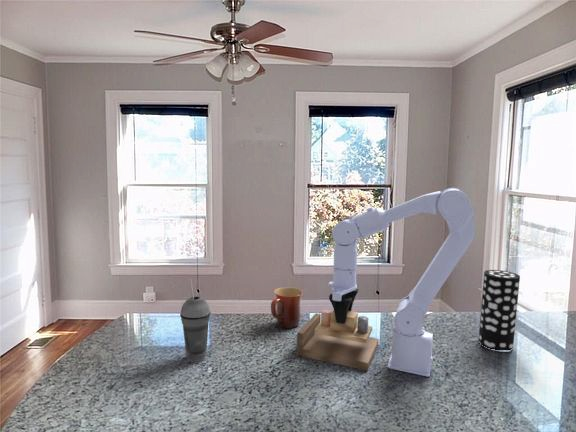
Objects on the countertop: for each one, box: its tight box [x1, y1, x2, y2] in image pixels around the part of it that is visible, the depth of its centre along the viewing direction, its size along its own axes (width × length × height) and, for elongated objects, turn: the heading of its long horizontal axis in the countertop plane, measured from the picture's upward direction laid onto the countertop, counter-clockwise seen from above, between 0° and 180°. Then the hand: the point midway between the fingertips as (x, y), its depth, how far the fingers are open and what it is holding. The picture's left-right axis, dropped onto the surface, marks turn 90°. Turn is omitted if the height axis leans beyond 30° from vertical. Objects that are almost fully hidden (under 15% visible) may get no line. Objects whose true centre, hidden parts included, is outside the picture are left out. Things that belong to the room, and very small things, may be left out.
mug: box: [270, 286, 304, 329], centre depth 114 cm, size 12×9×10 cm
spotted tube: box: [477, 269, 521, 350], centre depth 103 cm, size 8×8×20 cm
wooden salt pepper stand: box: [315, 309, 373, 343], centre depth 97 cm, size 13×8×5 cm, turn 67°
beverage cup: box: [179, 278, 212, 364], centre depth 93 cm, size 7×7×20 cm
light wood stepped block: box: [296, 313, 380, 372], centre depth 99 cm, size 18×14×6 cm
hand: (343, 319), depth 97 cm, fingers closed on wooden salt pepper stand, 4 cm apart
